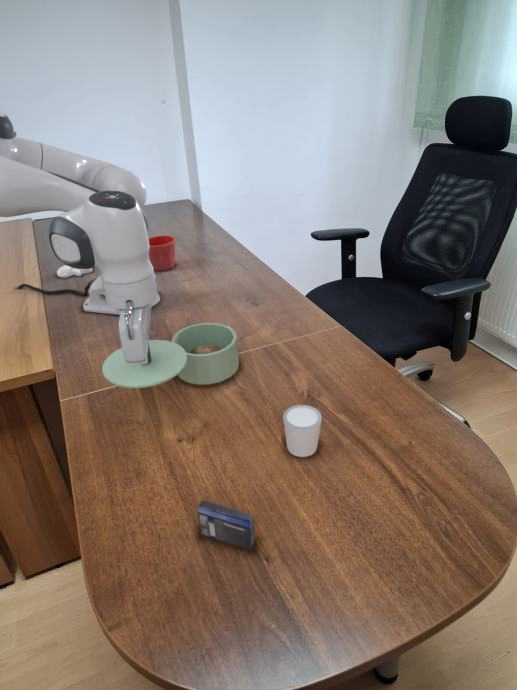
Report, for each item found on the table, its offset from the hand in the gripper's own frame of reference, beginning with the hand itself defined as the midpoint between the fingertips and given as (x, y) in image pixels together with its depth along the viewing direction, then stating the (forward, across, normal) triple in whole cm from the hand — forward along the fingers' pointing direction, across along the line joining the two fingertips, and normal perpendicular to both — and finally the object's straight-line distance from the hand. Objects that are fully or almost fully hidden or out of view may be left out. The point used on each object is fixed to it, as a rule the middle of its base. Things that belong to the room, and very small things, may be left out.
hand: (144, 356), depth 88 cm
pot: (+14, +14, -12) cm, 23 cm away
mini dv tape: (+14, -32, -12) cm, 37 cm away
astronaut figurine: (+14, +84, +30) cm, 91 cm away
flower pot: (+14, +82, 0) cm, 83 cm away
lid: (+2, 0, 0) cm, 2 cm away
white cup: (+14, -15, -27) cm, 34 cm away
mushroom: (+14, +14, -12) cm, 23 cm away
